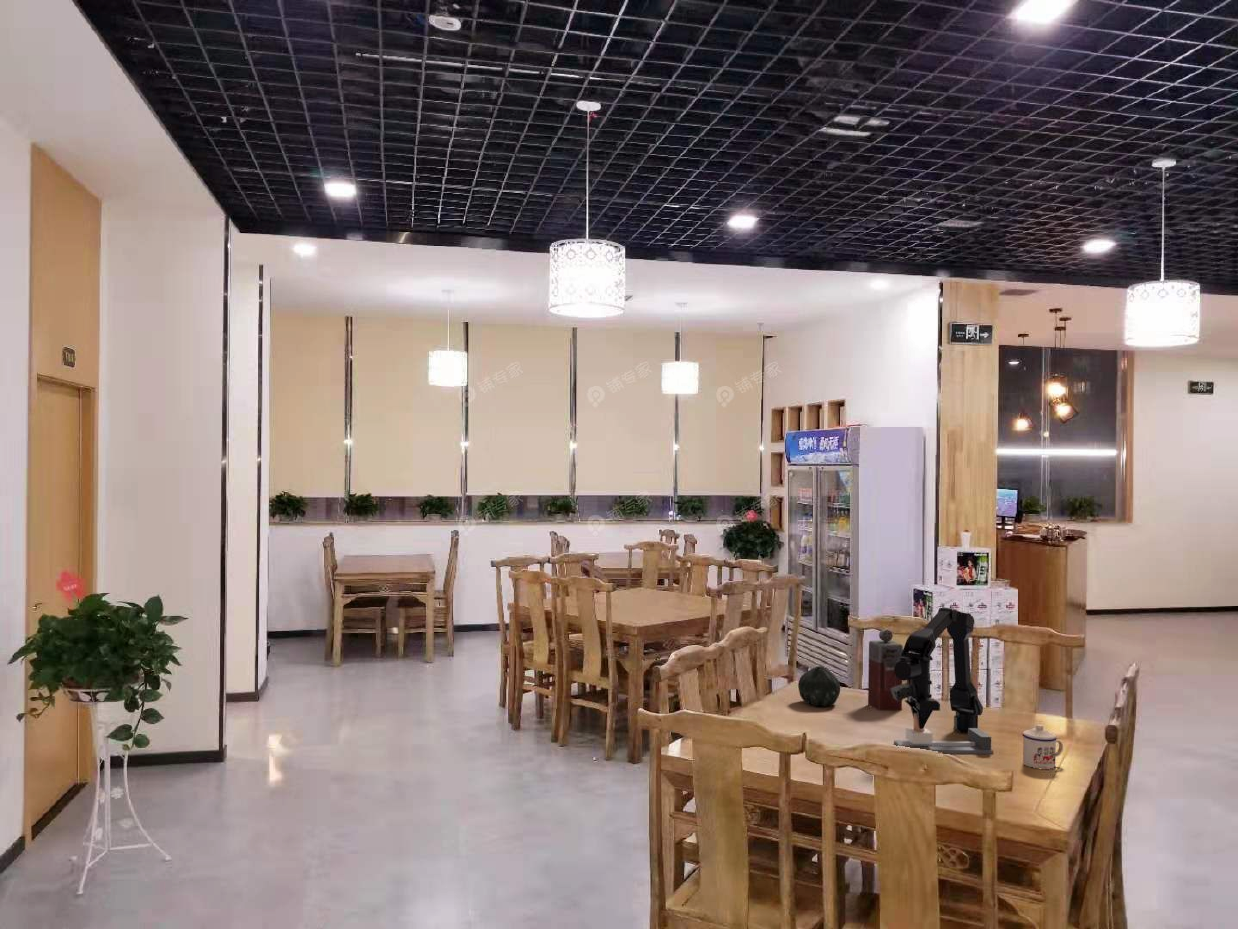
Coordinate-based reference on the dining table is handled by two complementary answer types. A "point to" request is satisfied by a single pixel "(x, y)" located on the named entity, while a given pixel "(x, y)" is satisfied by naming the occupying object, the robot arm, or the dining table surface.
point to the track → (957, 744)
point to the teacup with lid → (1040, 748)
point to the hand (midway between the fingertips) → (919, 727)
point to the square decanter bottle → (883, 672)
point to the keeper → (918, 733)
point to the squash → (819, 687)
